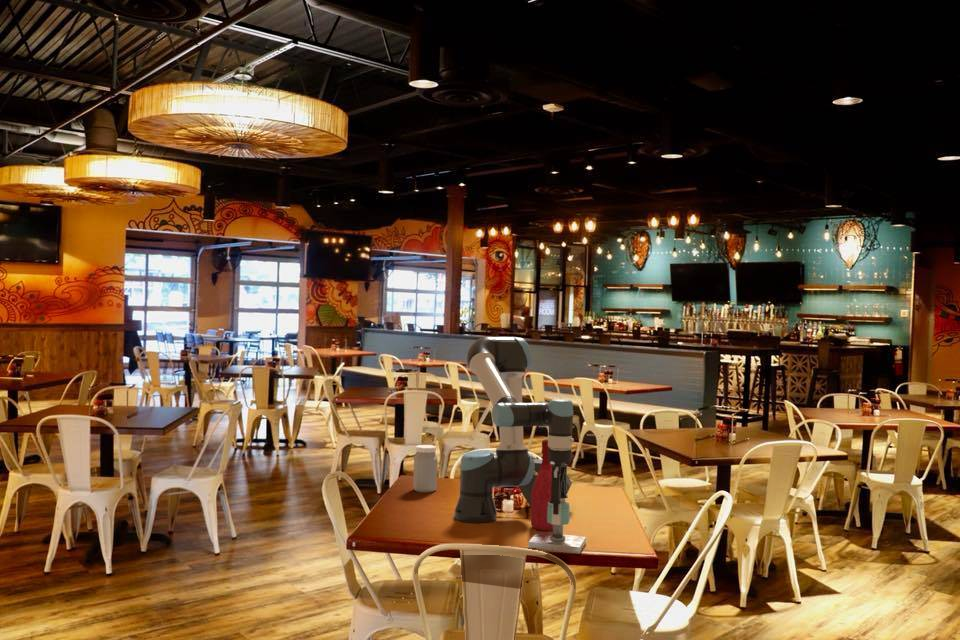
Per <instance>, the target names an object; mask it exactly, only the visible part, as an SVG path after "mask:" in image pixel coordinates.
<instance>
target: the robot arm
mask: <svg viewBox="0 0 960 640" xmlns="http://www.w3.org/2000/svg"><path fill="white" fill-rule="evenodd" d="M531 362H532V351H531V348H530V346H529V343H528V342H527V340H525V339H524V338H522V337H517V336H484V337H480V338H478V339H476V340H475V341H474V342H473V343H471V346H470V347H469V349H468V350H467V353H466V363H467V366H468V368H469V370H470V372H471V373H472V374H473V375H475V376H476V377H477V379H478V380H479V383H480V384H481V386H482V388H483V390H484V391H485V393H486V395H487V398H488V399H489V400H490V402H491V404H492V405H493V407H492V410H491V419H492V422H493V424H494V426H496V427H499V445H498V446H497V447H496V449H495V454H494V452H493V450H489V449H486V450H485V449H484V450H483V449H478V450H477V449H476V450H472V451H469V452H466V453H464V454H463V455H462V456H461V460H460V466H459V470H460V474H459V478H460V479H459V497H458V500H457V502H456V503H457V504H456V505H455V508H454V512H453V513H454V515H453V517H454V519H455V520H457V521H461V522H465V523H474V524H477V523H490V522H494V521H495V520H497V518H498V512H497V508H496V504H495V500H494V498H493V497H494V495H493V491H494V490H493V489H494V488H505V487H506V488H507V487H515V488H519V487H518V486H523V485H527V484H528V483H529V482H530V481H531V479H532V477H533V474H534V472H535V470H534V468H535V463H534V460H533V459H534V456H533V454H532V453H530V452H529V448H528V447H527V446H526V445H525V443H524V427H540V426H541V427H545V426H546V427H548V432H547V433H548V435H547V440H548V447H549V449H548V460H549V461H551V462H554V467H553V468H552V472H551V473H552V485H551V501H549V503H552V524H555V525H561V504H560V501H564V502H566V499H568V497H569V495H568V493H567V475H568V474H567V471H568V463H570V462H572V460H573V458H572V457H573V450H572V449H571V448H572V447H573V442H574V441H575V439H574V438H573V423H574V406H573V405H574V404H573V401H572V400H570V399H566V398H565V399H564V398H552V399H550V400H549V401H542V400H541V401H537V402H523V383H522V380H523V379H522V378H524V376H525V374H526V371H527V369H529V368H530V366H531ZM566 494H567V495H566ZM564 498H565V499H564Z"/></svg>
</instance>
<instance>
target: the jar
mask: <svg viewBox="0 0 960 640" xmlns="http://www.w3.org/2000/svg"><path fill="white" fill-rule="evenodd" d="M415 451H416V452H415V456H414V457H413V482H412V483H413V487H412V488H413V490H414V491H415V492H418V493H432V492H435V491H436V490H437V488H438V487H437V484H438V483H437V482H438V456H436V455H437V452H436V451H437V446H436V445H434V444H418V445H415Z"/></svg>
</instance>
